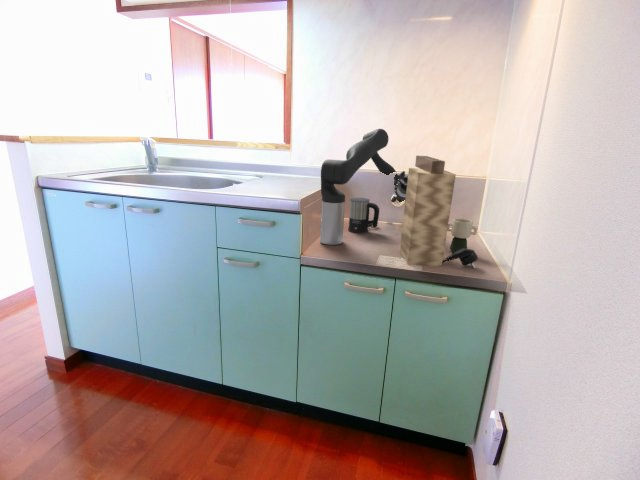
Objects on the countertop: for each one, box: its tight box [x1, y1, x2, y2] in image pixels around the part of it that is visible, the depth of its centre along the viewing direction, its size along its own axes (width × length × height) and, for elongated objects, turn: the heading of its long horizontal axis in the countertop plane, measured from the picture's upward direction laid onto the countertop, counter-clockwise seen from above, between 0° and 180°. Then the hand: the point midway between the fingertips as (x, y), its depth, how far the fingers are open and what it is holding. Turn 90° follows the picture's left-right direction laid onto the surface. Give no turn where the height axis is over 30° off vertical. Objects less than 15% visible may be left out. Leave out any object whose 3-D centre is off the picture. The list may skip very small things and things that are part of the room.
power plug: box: [442, 248, 479, 269], centre depth 122 cm, size 6×8×12 cm
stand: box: [399, 167, 457, 267], centre depth 124 cm, size 12×15×32 cm
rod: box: [414, 155, 446, 174], centre depth 122 cm, size 4×23×4 cm, turn 178°
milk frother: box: [347, 197, 380, 234], centre depth 162 cm, size 14×16×15 cm
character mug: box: [447, 217, 478, 253], centre depth 135 cm, size 11×7×13 cm, turn 64°
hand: (414, 173), depth 143 cm, fingers open, 8 cm apart
